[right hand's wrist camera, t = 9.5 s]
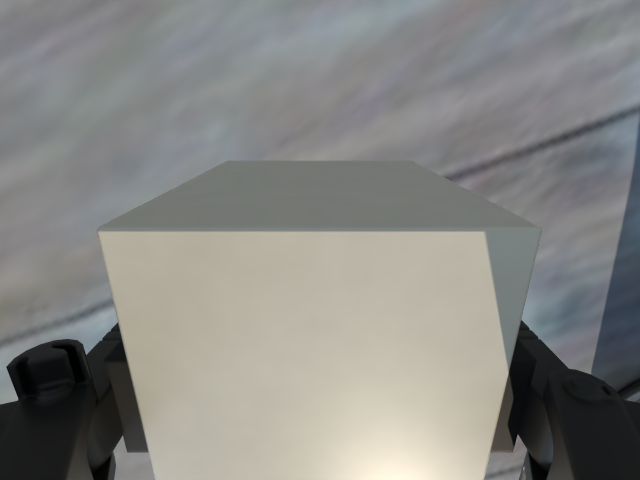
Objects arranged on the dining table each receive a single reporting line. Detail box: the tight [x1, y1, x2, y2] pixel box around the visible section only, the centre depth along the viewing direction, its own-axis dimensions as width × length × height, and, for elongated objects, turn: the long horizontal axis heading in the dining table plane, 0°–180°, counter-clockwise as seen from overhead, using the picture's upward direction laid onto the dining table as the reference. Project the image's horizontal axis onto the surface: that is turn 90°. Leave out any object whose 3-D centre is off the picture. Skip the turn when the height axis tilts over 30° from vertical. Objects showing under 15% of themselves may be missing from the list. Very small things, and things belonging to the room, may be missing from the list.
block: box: [97, 161, 541, 480], centre depth 12 cm, size 8×9×9 cm
